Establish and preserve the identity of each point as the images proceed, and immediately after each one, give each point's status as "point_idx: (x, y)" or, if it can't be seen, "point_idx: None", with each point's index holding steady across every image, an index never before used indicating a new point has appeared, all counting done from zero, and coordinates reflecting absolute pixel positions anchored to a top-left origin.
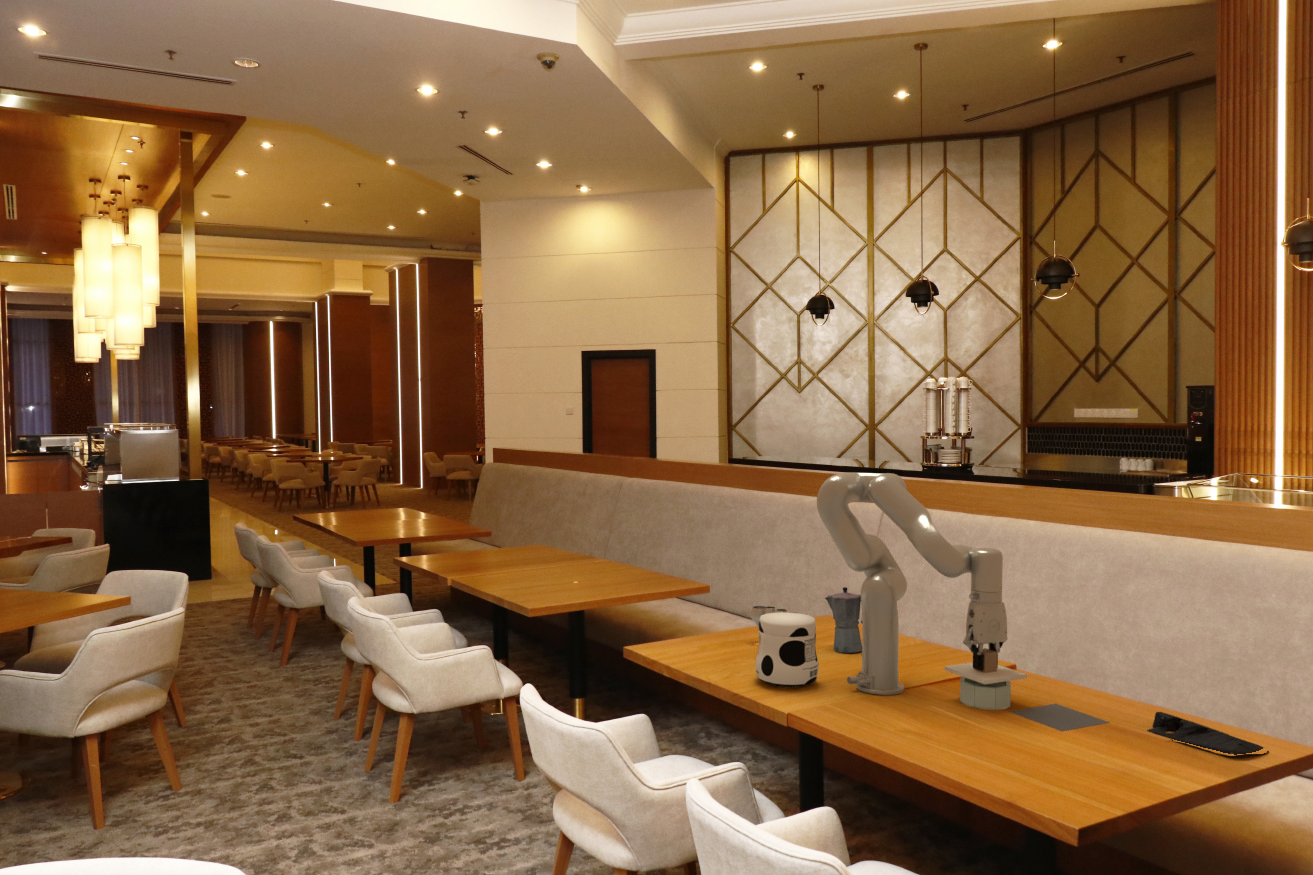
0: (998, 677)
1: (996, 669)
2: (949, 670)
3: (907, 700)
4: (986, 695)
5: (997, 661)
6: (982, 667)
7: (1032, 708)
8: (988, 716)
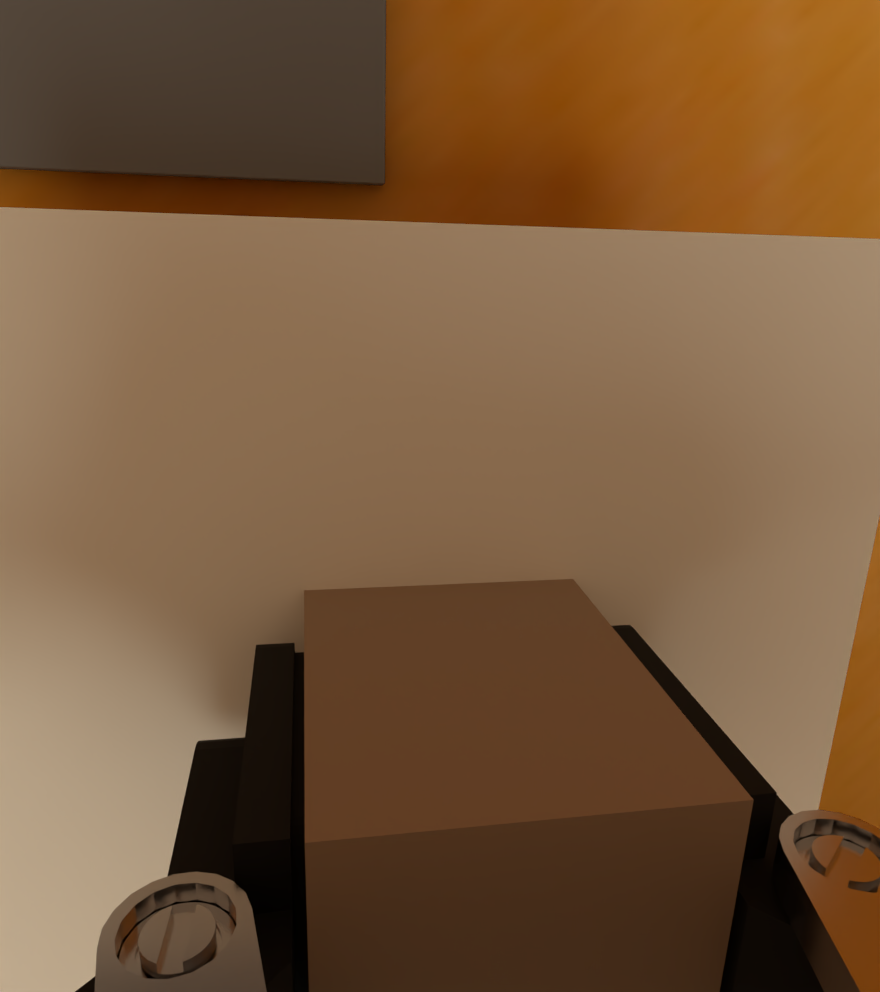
0: (594, 272)
1: (316, 603)
2: None
3: (851, 801)
4: None
5: (253, 711)
6: (632, 644)
7: (32, 137)
8: (637, 215)
